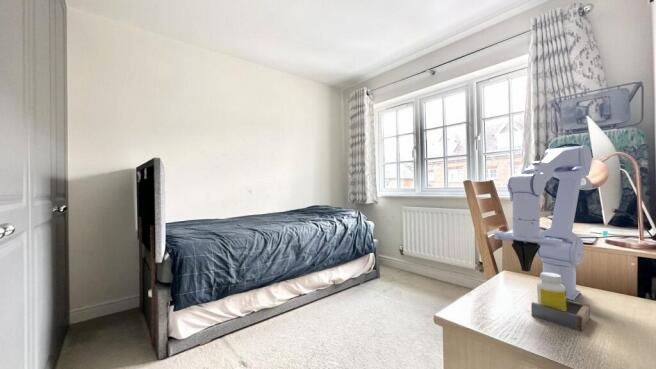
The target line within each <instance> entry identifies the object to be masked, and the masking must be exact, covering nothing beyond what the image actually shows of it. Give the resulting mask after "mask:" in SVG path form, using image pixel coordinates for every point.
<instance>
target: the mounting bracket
mask: <svg viewBox="0 0 656 369" xmlns="http://www.w3.org/2000/svg"><path fill="white" fill-rule="evenodd" d="M530 305H531V310H530V311H531V316H533V317H535V318H539V319H542V320H545V321H548V322H551V323H554V324H556V325H557V324H558V325H560V326H563V327H567V328H569V329H573V330H577V331H579V332H582V331H583V329H584V328H585V327H586V325H587V323H588V322H589V320H590V319H591V307H590V306H591V305H589V304H585V303H582V302H578V301H574V300H570V299H566V306H567V312H566V311H562V310H559V309H555V308H552V307H548V306H545V305H541V304H538V302H534V301H532V302H531V304H530Z"/></svg>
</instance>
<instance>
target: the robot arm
mask: <svg viewBox="0 0 656 369" xmlns="http://www.w3.org/2000/svg"><path fill="white" fill-rule="evenodd" d="M592 160H593V156H592V150H591V148H590V147H589V146H588V145H586V144H584V145H583V144H582V145H578V146H577V145H576V146H567V147H558V148H552V147H551V148H547V149H546V150H545V151H544V155H543V159H542V160H541V161H540V160H537V161H536V160H534V161H533V162H532V163H531V165H529V166H528V167H526V168H525V169H524V170H523V171H522V172H520V173H515V174H513V175H511V176H510V177H509V179H508V181H507V184H506V186H507V190H508V192H509V199H510V202H512V232H504V231H495V232H493V239H494V240H498V241H499V240H501V241H502V240H503V241H509V242H512V243H511V248H513V251H514V252H515V254H516V256H517V258H518V261H519V265H520V267H521V271H522V272H525V273H526V272H527V273H529V272H531V269H532V265H533V261H534V259H535V257H536V256H537V257H538V258H539V260H540V261H541V262H542V272H548V273H555V274H558V275H560V276H561V282H560V284H562V285H563V286H564V287H565V290H566V300H570V301H574V300H575V299H576V298H577V296H579V294H580V293H581V290H580V289H577V271H576V270H577V269H576V266H579V265H580V264H581V263H582V261H583V260H584V253H585V252H584V241H583V239H582V238H581V237H580V236H579V235H577V234H576V233H575V232H573V228H574V222H575V217H576V211H577V205H578V200H579V193H580V187H581V184H582V181H583V180H582V179H584V178H586V177H587V176H589V174H590V171H591V167H592ZM552 178H556V179H558V180H559V182H558V187H557V188H558V189H557V192H556V198H555V203H554V208H553V214H552V218H551V224H550V227H549V228H548V229H544V230H542V231H540V226H541V224H540V216H541V215H540V213H541V212H540V196H541V195H543V194H544V190H545V188H546V185H547V182H549V181H550V180H551V179H552Z"/></svg>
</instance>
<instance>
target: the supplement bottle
mask: <svg viewBox="0 0 656 369" xmlns="http://www.w3.org/2000/svg"><path fill="white" fill-rule="evenodd" d="M539 274H540V275H539V278H540V281H538V282H537V284H536V287H537V289H536V290H537V303H538V304H541V305H545V306H548V307H552V308H555V309H559V310H562V311H566V312H567V306H566V300H567V299H566V290H565V287H564V286H563V285H562V284H560V282H561V276H560V275H558V274H555V273H548V272H543V271H542V272H540V273H539Z"/></svg>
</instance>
